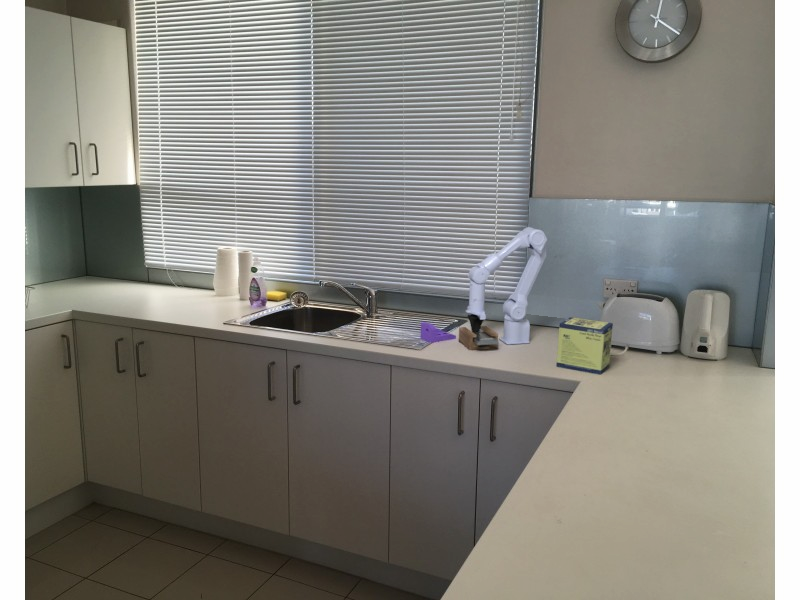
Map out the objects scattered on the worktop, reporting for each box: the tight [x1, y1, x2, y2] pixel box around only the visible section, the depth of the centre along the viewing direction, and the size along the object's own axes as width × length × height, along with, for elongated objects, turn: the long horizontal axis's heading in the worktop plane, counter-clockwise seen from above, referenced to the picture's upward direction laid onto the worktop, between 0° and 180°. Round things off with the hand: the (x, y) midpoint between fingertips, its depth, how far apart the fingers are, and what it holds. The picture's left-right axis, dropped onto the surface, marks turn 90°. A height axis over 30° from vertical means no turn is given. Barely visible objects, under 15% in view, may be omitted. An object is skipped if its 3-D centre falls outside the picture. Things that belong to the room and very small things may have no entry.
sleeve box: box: [458, 325, 499, 351], centre depth 254 cm, size 11×12×6 cm
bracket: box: [420, 321, 457, 344], centre depth 262 cm, size 12×7×7 cm, turn 124°
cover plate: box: [473, 331, 499, 345], centre depth 250 cm, size 8×12×2 cm, turn 14°
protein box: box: [555, 317, 614, 376], centre depth 229 cm, size 10×16×16 cm
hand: (475, 333), depth 257 cm, fingers closed
